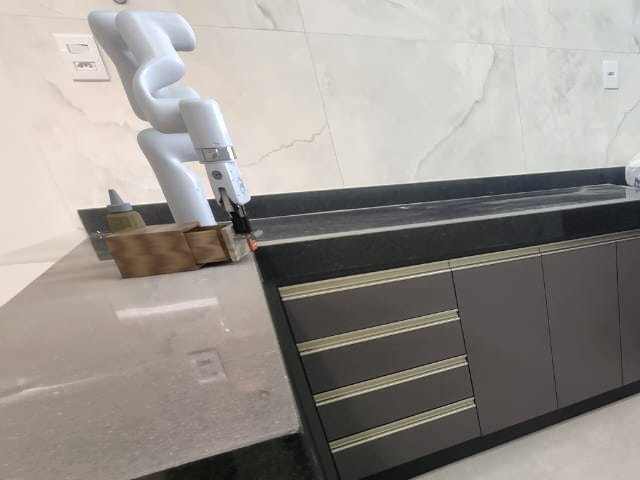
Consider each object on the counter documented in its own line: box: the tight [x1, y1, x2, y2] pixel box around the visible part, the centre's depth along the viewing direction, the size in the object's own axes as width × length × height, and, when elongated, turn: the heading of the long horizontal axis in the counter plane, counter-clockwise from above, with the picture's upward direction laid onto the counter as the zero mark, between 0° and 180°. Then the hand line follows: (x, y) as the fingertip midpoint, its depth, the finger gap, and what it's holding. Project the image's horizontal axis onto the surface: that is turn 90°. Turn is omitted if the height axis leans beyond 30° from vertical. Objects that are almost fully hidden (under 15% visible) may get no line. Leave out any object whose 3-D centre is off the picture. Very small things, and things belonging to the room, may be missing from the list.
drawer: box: [183, 222, 264, 264], centre depth 132 cm, size 18×11×8 cm, turn 111°
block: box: [245, 235, 259, 252], centre depth 145 cm, size 5×5×5 cm
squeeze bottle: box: [105, 188, 147, 234], centre depth 136 cm, size 8×8×18 cm
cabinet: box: [102, 221, 207, 279], centre depth 129 cm, size 15×13×10 cm
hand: (244, 232), depth 134 cm, fingers closed
